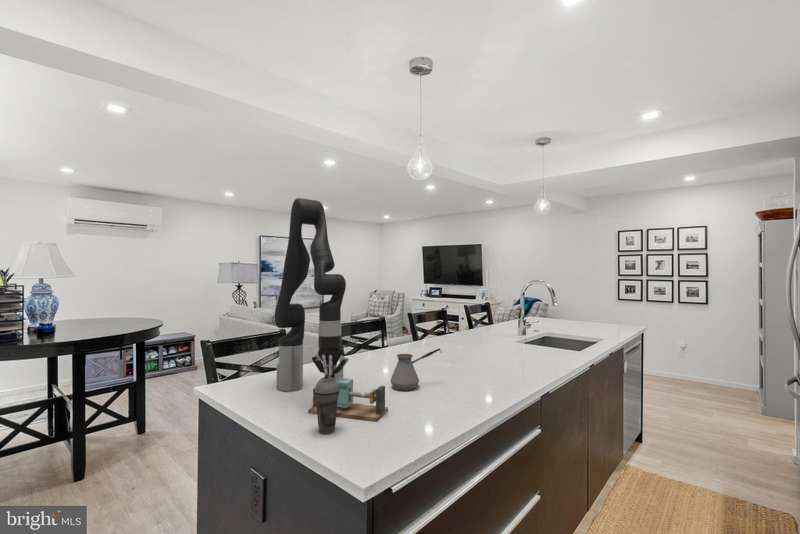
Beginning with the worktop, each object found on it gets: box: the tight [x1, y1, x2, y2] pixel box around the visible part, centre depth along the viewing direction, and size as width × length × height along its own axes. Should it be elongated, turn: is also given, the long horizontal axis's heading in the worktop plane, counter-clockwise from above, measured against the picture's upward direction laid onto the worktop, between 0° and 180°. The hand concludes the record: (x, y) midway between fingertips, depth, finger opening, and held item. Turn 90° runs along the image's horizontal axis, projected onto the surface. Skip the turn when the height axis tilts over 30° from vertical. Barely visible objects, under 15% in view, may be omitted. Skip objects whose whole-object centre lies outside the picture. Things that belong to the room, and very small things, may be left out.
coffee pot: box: [390, 347, 443, 391], centre depth 156 cm, size 21×12×15 cm, turn 104°
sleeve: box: [336, 377, 354, 408], centre depth 129 cm, size 5×5×8 cm
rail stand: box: [307, 385, 389, 423], centre depth 128 cm, size 24×10×9 cm, turn 72°
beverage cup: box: [314, 362, 340, 435], centre depth 113 cm, size 7×7×20 cm
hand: (329, 385), depth 130 cm, fingers closed
